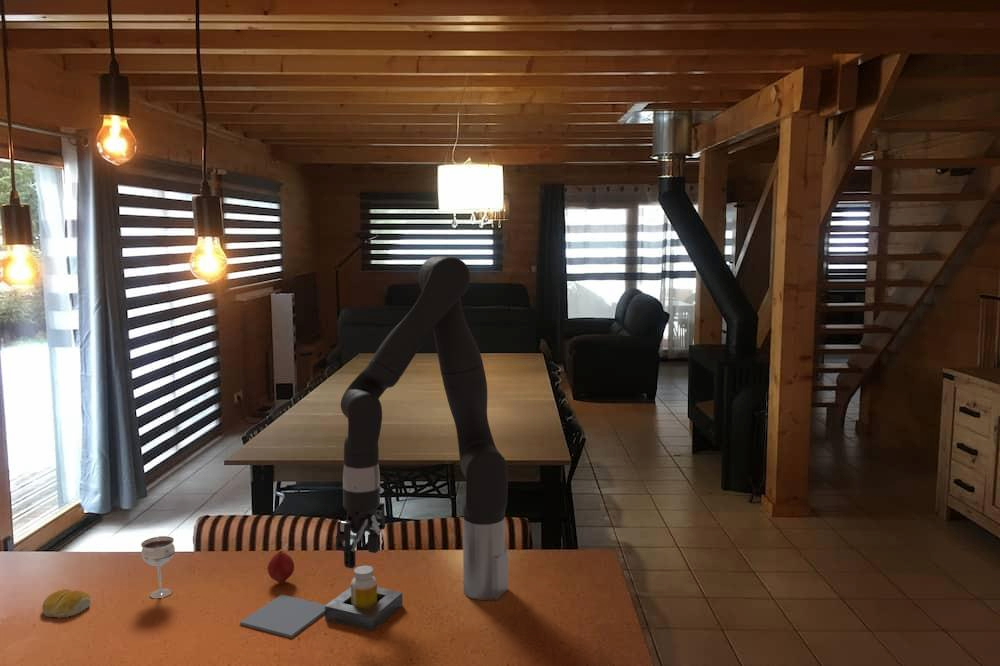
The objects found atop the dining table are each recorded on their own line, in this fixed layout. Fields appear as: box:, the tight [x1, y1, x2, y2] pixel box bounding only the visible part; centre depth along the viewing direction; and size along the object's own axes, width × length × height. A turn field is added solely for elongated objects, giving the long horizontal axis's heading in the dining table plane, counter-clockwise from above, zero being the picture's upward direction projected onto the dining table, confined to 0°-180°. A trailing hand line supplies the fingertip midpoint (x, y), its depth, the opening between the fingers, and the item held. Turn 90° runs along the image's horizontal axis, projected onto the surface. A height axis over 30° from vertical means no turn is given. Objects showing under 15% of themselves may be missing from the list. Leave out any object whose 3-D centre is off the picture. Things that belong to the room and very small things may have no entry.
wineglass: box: [140, 535, 176, 599], centre depth 172 cm, size 7×7×12 cm
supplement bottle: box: [350, 565, 378, 609], centre depth 164 cm, size 5×5×10 cm
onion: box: [267, 549, 295, 584], centre depth 178 cm, size 6×6×8 cm
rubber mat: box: [239, 594, 326, 639], centre depth 163 cm, size 13×13×1 cm
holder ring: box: [324, 586, 403, 632], centre depth 165 cm, size 12×12×3 cm
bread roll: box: [41, 589, 91, 619], centre depth 166 cm, size 8×9×4 cm
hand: (361, 559), depth 163 cm, fingers open, 8 cm apart
